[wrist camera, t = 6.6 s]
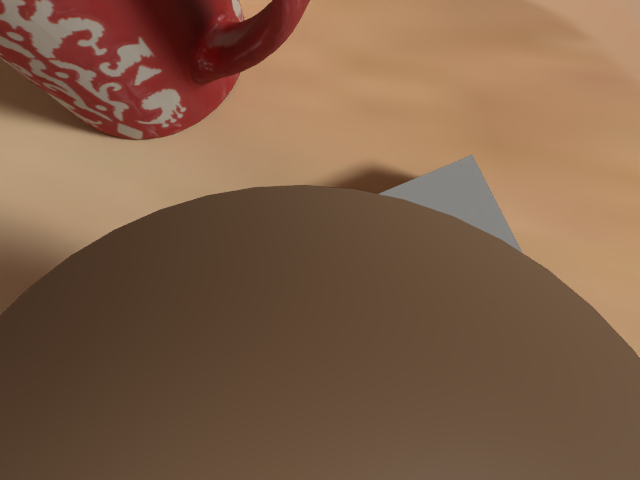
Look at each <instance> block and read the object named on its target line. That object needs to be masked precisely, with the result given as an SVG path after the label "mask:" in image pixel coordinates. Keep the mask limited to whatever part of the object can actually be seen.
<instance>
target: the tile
mask: <svg viewBox="0 0 640 480" xmlns="http://www.w3.org/2000/svg"><path fill="white" fill-rule="evenodd" d="M379 194H381V195H385V196H390V197H395V198H400V199H404V200H407V201H410V202H413V203H416V204H419V205H422V206H425V207H428V208H431V209H434V210H437V211H440V212H443V213H445V214H448V215H451V216H454V217H456V218H458V219H460V220H462V221H464V222H466V223H468V224H470V225H472V226H474V227H477V228H479V229H481V230H483V231H485V232H487V233H489V234H491V235H493V236H495V237H497V238H499V239H501V240H503V241H504V242H506V243H507V244H509V245H511V246H512V247H514V248H515V249H517V250H518V251H520V252H521V253H522V251H521V249H520V247H519V245H518V243H517V241H516V239H515V237H514V235H513V233H512V231H511V229H510V227H509V226H508V224H507V222H506V220H505V218H504V216H503V214H502V212H501V210H500V208H499V206H498V204H497V202H496V200H495V198H494V196H493V194H492V192H491V190H490V188H489V187H488V185H487V183H486V181H485V179H484V177H483V175H482V173H481V171H480V169H479V167H478V165H477V163H476V161H475V159H474V157H473V155H470V156H468V157H465V158H463V159H461V160H458V161H456V162H453V163H451V164H449V165H446V166H444V167H442V168H439V169H437V170H434V171H432V172H430V173H427V174H425V175H422V176H420V177H418V178H415V179H413V180H410V181H408V182H406V183H403V184H401V185H398V186H396V187H394V188H391V189H389V190H386V191H384V192H382V193H379Z"/></svg>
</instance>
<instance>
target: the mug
mask: <svg viewBox="0 0 640 480" xmlns="http://www.w3.org/2000/svg"><path fill="white" fill-rule="evenodd" d="M309 1H310V0H272V2H271V3H269V4H268V5H267V6H266V7H265V8H264V9H263V10H262V11H261V12H259V13H258V14H257V15H255V16H253V17H252V18H249V19H247V20H244V16H243V13H242V9H241V6H240V3H239V0H0V58H1V59H2V60H3V61H5V62H6V63H7V64H8V65H10V66H11V67H12V68H14V69H15V70H16V71H18V72H19V73H21V74H22V75H24V76H25V77H26V78H28V79H29V80H30V81H31V82H33V83H34V84H35V85H37V86H38V87H39V88H41V89H42V90H43V91H45V92H46V93H47V94H49V95H50V96H51V97H53V98H54V99H55V100H56V101H58V102H59V103H60V104H61V105H62V106H64V107H65V108H66V109H67V110H69V111H70V112H71V113H73V114H74V115H75V116H77V117H78V118H79V119H81V120H82V121H84V122H85V123H87V124H89V125H90V126H92V127H94V128H95V129H97V130H100V131H102V132H104V133H107V134H110V135H113V136H117V137H121V138H128V139H152V138H158V137H165V136H168V135H172V134H175V133H177V132H180V131H182V130H184V129H186V128H188V127H190V126H192V125H195V124H196V123H198V122H200V121H201V120H202V119H204V118H205V117H206V116H208V115H209V114H210V113H211V112H212V111H214V110H215V109H216V108H217V107H218V106H219V105H220V104H221V103H222V101H223V100H224V99H225V98H226V97H227V95H228V94H229V92H230V91H231V90H232V88H233V86H234V85H235V83H236V81H237V79H238V77H239V74H240V72H242V71H244V70H246V69H248V68H250V67H252V66H255V65H257V64H258V63H260V62H261V61H263V60H264V59H265V58H266V57H268V56H269V55H270V54H272V53H273V52H274V51H276V50H277V49H278V48H279V47H280V46H281V45H282V44H283V43H284V42H285V41H286V39H287V38H288V37H289V36H290V34H291V33H292V32H293V30H294V29H295V27H296V25H297V24H298V22H299V21H300V19H301V17H302V15H303V13H304V11H305V9H306V7H307V5H308V3H309Z"/></svg>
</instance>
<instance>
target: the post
mask: <svg viewBox="0 0 640 480" xmlns="http://www.w3.org/2000/svg"><path fill="white" fill-rule="evenodd" d="M0 480H640V358H639V357H638V355H637V354H636V353H635V351H634V350H633V349H632V348H631V347H630V346H629V345H628V344H627V343H626V342H625V341H624V339H623V338H622V337H621V336H620V335H619V334H618V333H617V332H616V331H615V330H614V329H613V328H612V327H611V326H610V325H609V324H608V323H607V322H606V320H605V319H604V318H603V317H602V316H601V315H600V314H599V313H598V312H597V311H596V310H595V309H594V308H593V307H592V306H591V305H590V304H589V303H587V302H586V301H585V300H584V299H583V298H581V297H580V296H579V295H578V294H577V293H575V292H574V291H573V290H572V289H571V288H569V287H568V286H567V285H566V284H565V283H563V282H562V281H561V280H560V279H559V278H557V277H556V276H555V275H554V274H553V273H551V272H550V271H549V270H548V269H546V268H545V267H543V266H542V265H540V264H538V263H537V262H535V261H534V260H532V259H531V258H529V257H528V256H526V255H525V254H523V253H521V252H520V251H518V250H517V249H515V248H514V247H512V246H511V245H509V244H507V243H506V242H504V241H503V240H501V239H499V238H497V237H495V236H493V235H491V234H489V233H487V232H485V231H483V230H481V229H479V228H477V227H474V226H472V225H470V224H468V223H466V222H464V221H462V220H460V219H458V218H456V217H454V216H451V215H448V214H445V213H443V212H440V211H437V210H434V209H431V208H428V207H425V206H422V205H419V204H416V203H413V202H410V201H407V200H404V199H400V198H395V197H390V196H385V195H381V194H376V193H371V192H366V191H361V190H356V189H348V188H335V187H323V186H310V185H294V186H273V187H254V188H248V189H242V190H237V191H231V192H225V193H219V194H213V195H208V196H204V197H201V198H197V199H194V200H191V201H187V202H184V203H181V204H177V205H174V206H171V207H168V208H164V209H161V210H158V211H156V212H154V213H151V214H149V215H147V216H145V217H142V218H140V219H138V220H136V221H133V222H131V223H129V224H127V225H124V226H122V227H120V228H117V229H115V230H113V231H112V232H110V233H108V234H107V235H105V236H103V237H102V238H100V239H98V240H96V241H95V242H93V243H91V244H90V245H88V246H86V247H85V248H83V249H81V250H80V251H78V252H76V253H75V254H73V255H71V256H70V257H69V258H67V259H66V260H65V261H63V262H62V263H61V264H59V265H58V266H57V267H55V268H54V269H53V270H52V271H50V272H49V273H48V274H46V275H45V276H44V277H42V278H41V279H40V280H38V281H37V282H36V283H34V284H33V285H32V286H31V287H30V288H29V289H28V290H26V291H25V292H24V293H23V294H22V295H21V296H20V297H19V298H18V299H17V300H16V301H15V302H14V303H13V304H12V305H11V306H10V307H9V308H8V309H7V310H6V311H5V312H4V313H3V314H2V315H0Z"/></svg>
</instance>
